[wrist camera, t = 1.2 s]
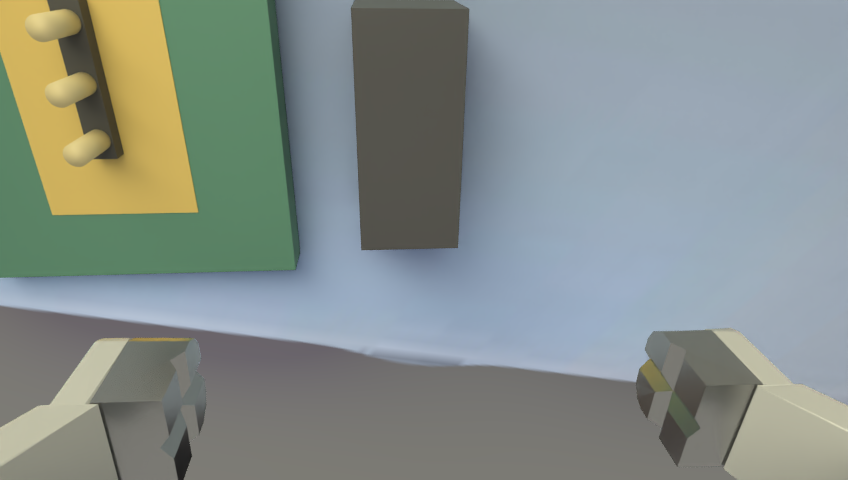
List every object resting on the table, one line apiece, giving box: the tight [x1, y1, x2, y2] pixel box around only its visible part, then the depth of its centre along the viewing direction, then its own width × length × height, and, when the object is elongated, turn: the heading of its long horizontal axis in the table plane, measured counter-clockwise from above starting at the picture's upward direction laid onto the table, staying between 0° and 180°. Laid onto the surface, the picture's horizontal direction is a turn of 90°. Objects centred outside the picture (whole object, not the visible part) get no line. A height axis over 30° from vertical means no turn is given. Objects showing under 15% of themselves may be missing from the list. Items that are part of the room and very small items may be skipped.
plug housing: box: [351, 0, 469, 250], centre depth 26 cm, size 5×11×5 cm, turn 179°
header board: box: [0, 0, 300, 278], centre depth 24 cm, size 16×20×5 cm
